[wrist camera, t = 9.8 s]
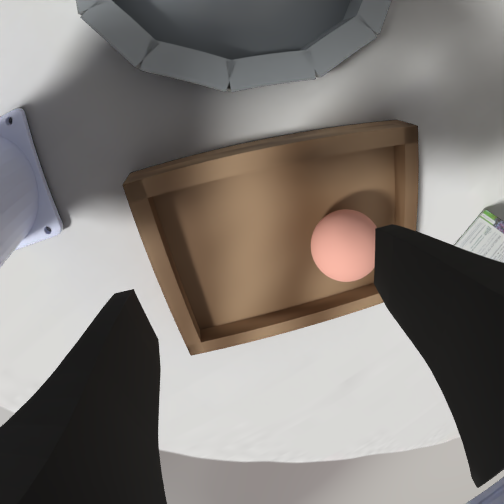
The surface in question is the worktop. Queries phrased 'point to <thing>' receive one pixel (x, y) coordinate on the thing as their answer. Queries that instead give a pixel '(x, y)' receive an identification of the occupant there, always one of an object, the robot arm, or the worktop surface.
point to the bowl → (236, 37)
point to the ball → (344, 245)
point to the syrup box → (485, 237)
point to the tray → (268, 227)
